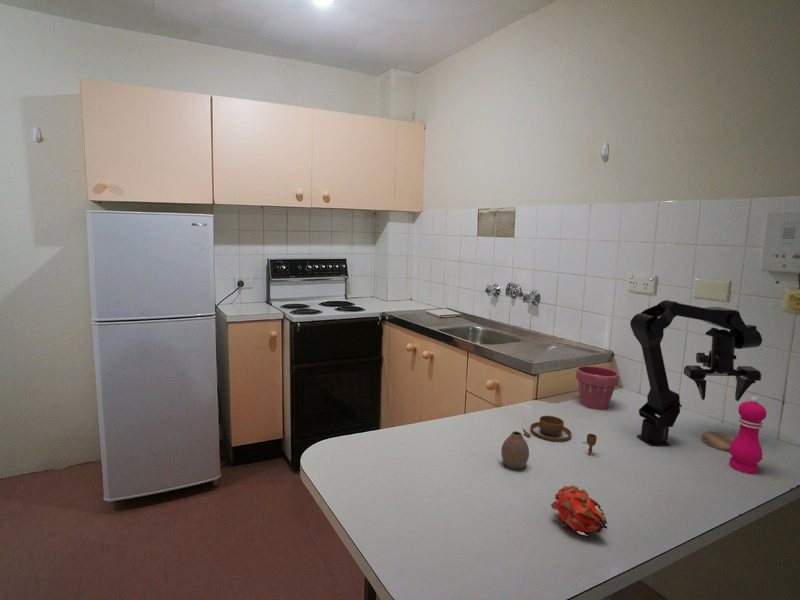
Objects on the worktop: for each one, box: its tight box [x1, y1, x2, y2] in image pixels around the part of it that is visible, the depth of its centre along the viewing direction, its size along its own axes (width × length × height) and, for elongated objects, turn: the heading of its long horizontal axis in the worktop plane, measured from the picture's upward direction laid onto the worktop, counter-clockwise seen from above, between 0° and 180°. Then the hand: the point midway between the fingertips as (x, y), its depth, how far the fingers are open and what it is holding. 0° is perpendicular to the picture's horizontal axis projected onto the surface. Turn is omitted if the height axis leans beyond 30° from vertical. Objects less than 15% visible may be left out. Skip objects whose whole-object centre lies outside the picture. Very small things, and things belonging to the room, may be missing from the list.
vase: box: [500, 430, 530, 470], centre depth 120 cm, size 7×7×9 cm
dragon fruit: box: [550, 484, 608, 536], centre depth 95 cm, size 8×8×12 cm
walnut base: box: [700, 431, 736, 453], centre depth 141 cm, size 11×11×2 cm
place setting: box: [522, 415, 598, 455], centre depth 138 cm, size 18×20×6 cm
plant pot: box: [575, 365, 620, 410], centre depth 169 cm, size 14×14×13 cm
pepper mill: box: [728, 396, 767, 475], centre depth 125 cm, size 7×7×20 cm
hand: (719, 400), depth 142 cm, fingers open, 9 cm apart
